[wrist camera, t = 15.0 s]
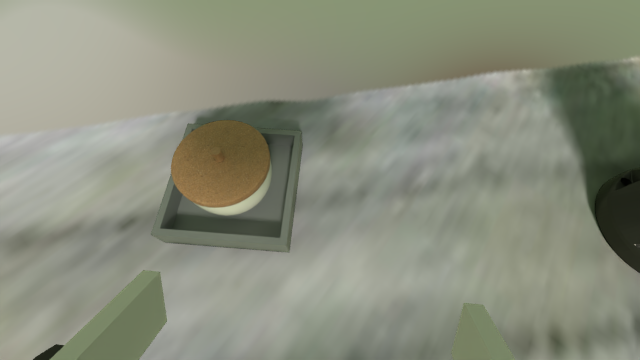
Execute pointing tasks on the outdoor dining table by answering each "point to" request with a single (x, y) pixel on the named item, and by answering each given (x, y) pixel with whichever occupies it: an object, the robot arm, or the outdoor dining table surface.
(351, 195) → the outdoor dining table surface
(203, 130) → the lidded jar
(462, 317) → the robot arm
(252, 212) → the bin
